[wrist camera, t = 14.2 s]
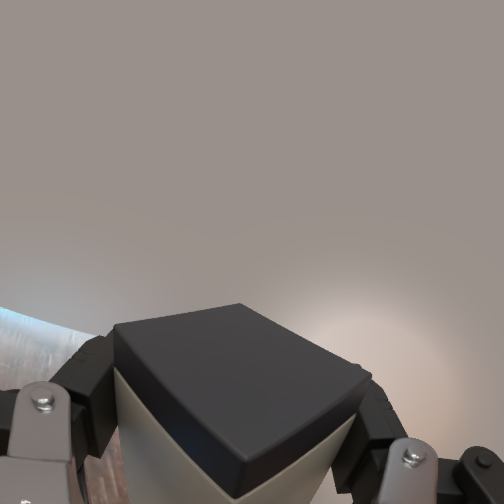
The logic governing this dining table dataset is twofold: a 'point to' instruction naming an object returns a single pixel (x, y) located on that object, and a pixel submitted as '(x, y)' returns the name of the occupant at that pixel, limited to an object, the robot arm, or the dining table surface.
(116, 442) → the dining table surface
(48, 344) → the dining table surface
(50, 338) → the dining table surface
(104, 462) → the dining table surface
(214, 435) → the black-capped tall post
